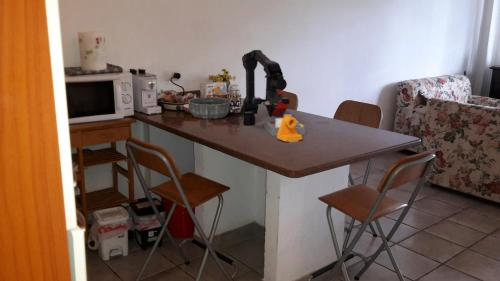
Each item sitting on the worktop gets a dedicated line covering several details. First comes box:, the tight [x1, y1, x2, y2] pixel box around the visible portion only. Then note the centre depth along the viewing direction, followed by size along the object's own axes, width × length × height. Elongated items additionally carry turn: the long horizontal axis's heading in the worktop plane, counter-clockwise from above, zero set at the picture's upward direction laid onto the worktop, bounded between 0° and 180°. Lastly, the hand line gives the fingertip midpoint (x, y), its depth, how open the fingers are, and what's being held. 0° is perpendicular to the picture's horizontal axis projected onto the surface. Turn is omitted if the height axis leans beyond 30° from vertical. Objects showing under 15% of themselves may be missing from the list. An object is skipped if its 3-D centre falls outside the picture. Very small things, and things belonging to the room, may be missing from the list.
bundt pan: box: [187, 96, 232, 120], centre depth 282 cm, size 26×26×10 cm
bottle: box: [270, 89, 289, 118], centre depth 290 cm, size 16×14×20 cm
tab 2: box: [282, 113, 293, 118], centre depth 253 cm, size 4×3×6 cm
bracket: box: [276, 116, 303, 143], centre depth 229 cm, size 11×7×12 cm, turn 119°
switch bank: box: [263, 119, 306, 137], centre depth 249 cm, size 18×18×5 cm
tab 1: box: [274, 117, 283, 127], centre depth 242 cm, size 4×3×6 cm
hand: (270, 117), depth 241 cm, fingers closed
